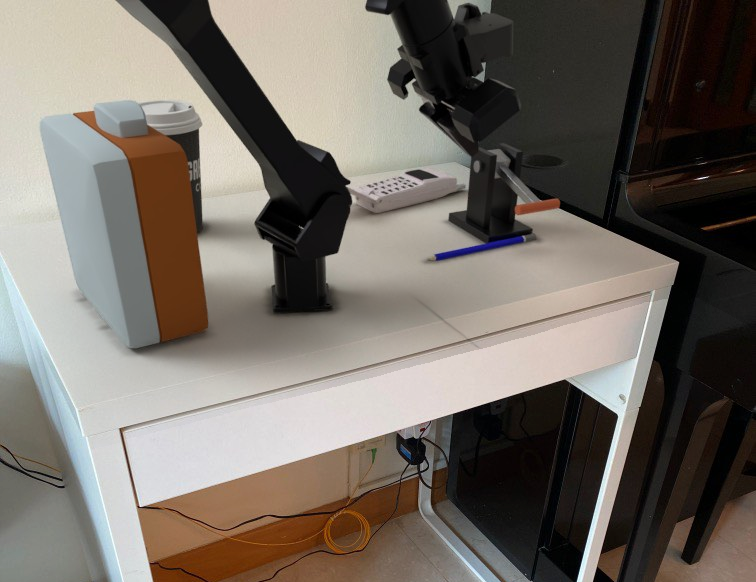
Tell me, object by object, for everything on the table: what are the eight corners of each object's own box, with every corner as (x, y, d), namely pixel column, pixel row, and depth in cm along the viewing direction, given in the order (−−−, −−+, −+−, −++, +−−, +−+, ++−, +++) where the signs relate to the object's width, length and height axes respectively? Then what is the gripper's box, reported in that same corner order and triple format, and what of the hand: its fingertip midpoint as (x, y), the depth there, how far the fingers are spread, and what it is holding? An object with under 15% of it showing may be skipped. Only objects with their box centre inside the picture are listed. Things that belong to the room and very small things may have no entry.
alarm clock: (213, 335, 82) (185, 120, 69) (130, 356, 78) (85, 133, 65) (150, 274, 94) (116, 81, 81) (76, 290, 90) (28, 90, 77)
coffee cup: (192, 246, 101) (174, 119, 91) (127, 236, 103) (104, 111, 93) (226, 222, 108) (214, 102, 98) (165, 213, 110) (147, 95, 101)
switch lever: (556, 214, 98) (562, 197, 97) (517, 221, 96) (522, 204, 94) (507, 164, 104) (511, 146, 103) (468, 169, 102) (473, 152, 100)
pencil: (532, 239, 105) (533, 232, 104) (536, 241, 104) (537, 234, 104) (425, 262, 98) (425, 254, 98) (429, 264, 98) (429, 256, 97)
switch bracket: (531, 237, 105) (543, 156, 98) (487, 245, 102) (496, 162, 96) (490, 214, 112) (498, 136, 105) (448, 221, 109) (453, 142, 103)
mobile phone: (307, 171, 107) (445, 142, 119) (309, 215, 110) (442, 182, 123) (333, 183, 103) (472, 151, 115) (333, 228, 107) (468, 193, 119)
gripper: (543, -3, 75) (577, 136, 87) (440, -39, 86) (483, 88, 98) (450, 72, 75) (497, 200, 87) (361, 25, 87) (413, 144, 99)
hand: (473, 153), depth 93 cm, fingers closed
